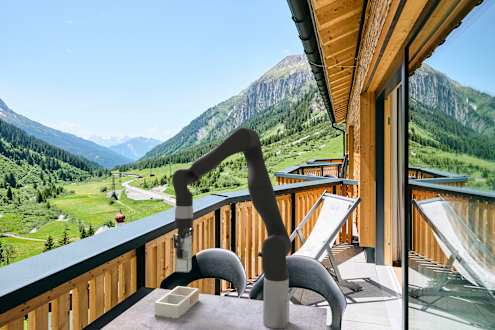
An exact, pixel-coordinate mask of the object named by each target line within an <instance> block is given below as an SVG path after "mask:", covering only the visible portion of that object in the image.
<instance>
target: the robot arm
mask: <svg viewBox="0 0 495 330" xmlns="http://www.w3.org/2000/svg"><path fill="white" fill-rule="evenodd" d="M238 153H243V156H244V158H245V159H244V160H245V162H246V165H247V190H248V193H249V196H250V200H251V203H252V205H253V207H254V209H255V210H256V212H257V213H258V215H259V216H260V218H261V220H262V221H263V224H264V227H265V229H266V233H267V237H266V238H265V239H264V241H263V243H262V247H261V257H262V258H261V266H262V272H263V305H262V306H263V310H262V312H263V313H262V319H263V320H262V322H263V325H264V326H265V327H267V328H270V329H286V328H288V325H289V322H290V296H289V285H290V283H289V281H290V279H289V278H290V277H289V276H290V271H289V270H288V268H287V256H288V255H289V254H290V253H291V250H292V241H291V238H290V236H289V233H288V231H287V228H286V226H285V224H284V221H283V218H282V215H281V211H280V208H279V204H278V201H277V198H276V194H275V189H274V187H273V183H272V181H271V178H270V173H269V171H268V169H267V168H268V167H267V166H266V161H265V159H264V154H263V149H262V143H261V138H260V136H259V134H258V132H257V131H256V130H254V129H251V128H247V127H239V128H237V129H235V130H234V131H233V132H231V133H230V135H228V136H227V137H226V138H224V140H223V141H221V143H219V144H218V145H217V146H216V147H214V148H213V149H211V150H209V151H208V152H207V153H205V154H204V155H202V156H200V157H198V158H196V159H195V160H194V161H193V162H192V163H191V165H190V167H187V168H177V169H176V170H174V172H173V174H172V178H171V179H172V186H173V189H174V194H175V209H174V227H175V228H176V229H177V233H174V234H173V248H174V249H177V258H183V244H184V243H185V238H186V237H187V236H190V235H191V236H192V244H193V242H194V230H195V229H194V228H193V227H194V206H193V205H194V204H193V202H194V199H193V197H194V196H193V193H192V191H189V187H188V186H191V185H193V184H195V183H196V182H198V181H199V180H200V179H201V178H202V177H203V176H205V175H207V174H208V173H210V172H212V171H214V170H215V169H216V168H217V167H219V166H220V165H221V163H223V162H224V161H225V160H226V159H228V158H230V157H231V156H233V155H236V154H238ZM183 238H184V239H183ZM180 239H183V241H180ZM176 243H177V246H176Z"/></svg>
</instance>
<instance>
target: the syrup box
mask: <svg viewBox="0 0 495 330" xmlns="http://www.w3.org/2000/svg"><path fill="white" fill-rule="evenodd" d="M183 239H184V238H183ZM183 239H180V241H183ZM192 244H193V243H192V236H191V235H190V236H187V237H186V238H185V243H184V244H183V258H177V249H175V248H174V249H175V250H174V253H175V254H174V258H175V259H174V260H175V261H174V265H175V266H174V272H175V273H190V271H191V270H192V252H193V251H192V249H193V248H192ZM176 246H177V243H176Z"/></svg>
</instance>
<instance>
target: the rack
mask: <svg viewBox="0 0 495 330" xmlns="http://www.w3.org/2000/svg"><path fill="white" fill-rule="evenodd" d="M199 297H200V289H199V288H198V287H188V286H180V285H177V286H176V287H174V288H173V289H172V290H170V291H169V292H167V293H166V294H164V295H163V296H161V298H159V299H158V300H156V301H155V302H154V316H156V315H157V316H158V317H162V316H163V318H169V317H171V318H170V319H175V318H178V319H180V318H181V317H182V316H183V315H184V314H185V313H186V312H187V311H189V309H191V308H192V307H193V306H194V305H195V304H196V303H198V302H199V301H200V300H199V299H200V298H199ZM182 314H183V315H182ZM181 315H182V316H181ZM180 316H181V317H180ZM179 317H180V318H179Z"/></svg>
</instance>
